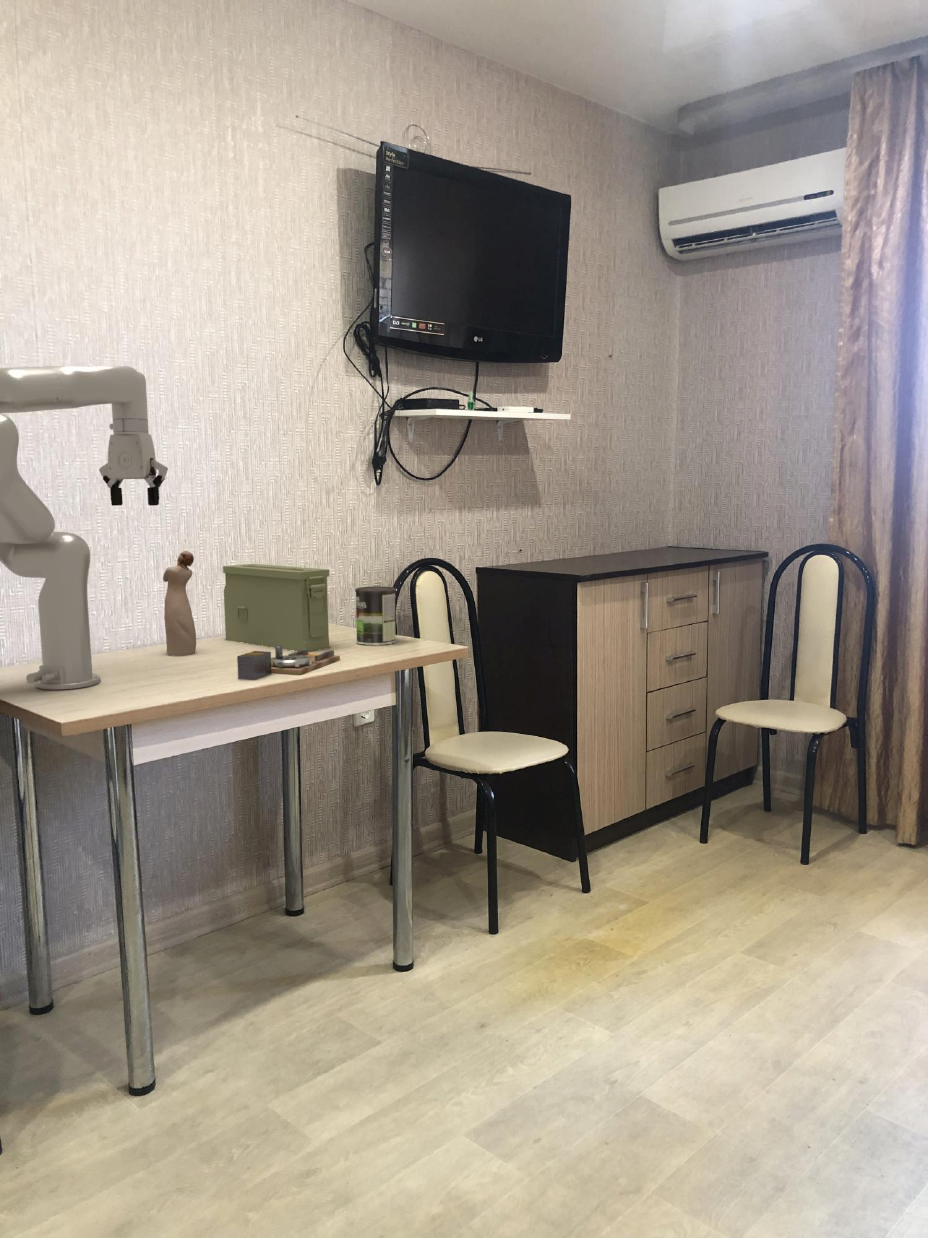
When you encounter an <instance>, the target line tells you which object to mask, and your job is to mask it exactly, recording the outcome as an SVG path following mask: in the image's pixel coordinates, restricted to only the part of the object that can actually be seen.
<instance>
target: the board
mask: <svg viewBox="0 0 928 1238" xmlns="http://www.w3.org/2000/svg"><path fill="white" fill-rule="evenodd" d="M287 655H288V656H299V655H304V656H307V657H313V662H312V664H311V665H303V666H300V667H278V666H274V665H272V666H271V671H272V674H278V675H291V676H292V675H293V676H294V675H295V676H301V675H304V674H308V673H309V671H310V672H312V671H315V670H317V669H319V668H322V667H325V666H328V665H330V664H332V663H335V662H338V661H340V660H341V655H336V654H335V649H334V650H333V649H330V650H327V651H324V652H322V653H319V654H317V653H309V652H308V649H303V650H300V651H297V652H296V651H293V652H291V653H288V654H287ZM337 660H338V661H337Z"/></svg>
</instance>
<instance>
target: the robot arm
mask: <svg viewBox="0 0 928 1238" xmlns="http://www.w3.org/2000/svg"><path fill="white" fill-rule="evenodd" d="M146 380H147V379H146V376H145V375H144V374H143V373H142V372H140V371H137V369H136V368H134V367H131V366H128V365H116V366H115V365H114V366H70V365H68V366H67V365H57V366H56V365H52V366H51V365H50V366H23V367H22V366H18V367H17V366H16V367H14V366H13V367H0V563H2V564H3V565H4V567H5V568H7V569H8V570H9V571H10V572H11V573H13V574H15V575H16V576H19V577H23V578H29V579H32V578H34V579H37V578H38V579H44V582H43V584H42V587H41V589H40V592H39V594H38V600H37V603H38V604H37V605H38V606H37V608H38V618H39V619H38V620H39V621H38V622H39V630H40V632H39V633H40V635H39V636H40V646H41V649H40V650H41V662H42V665H39V667H38V668H39V669H38V671H36V672H32V673H28V674H27V675H26V678H25V679H26V682H27V683H29V684H33V683H35V687H36V688H38V689H42V690H52V691H53V690H54V691H55V690H56V691H57V690H73V689H81V688H86V687H91V686H94V685H98V684H99V683H100V682H101V675H99V674H97V673H93V662H92V645H91V644H92V643H91V631H90V630H91V629H90V616H89V615H90V614H89V612H90V611H89V602H88V601H89V599H88V583H89V582H88V579H89V572H90V565H91V551H90V550H91V549H90V547H89V544H88V543H87V542H86V540H85V539H84V538H82V537H81V536H79V535H78V534H75V533H73V532H68V531H67V532H66V531H55V529H56V523H55V518H54V516H53V514H52V512H51V511H50V510H49V508H48V507H47V506H46V505H45V503H44V502H43V501H42V500H41V498H40V497H38V495H37V494H36V493H35V492H34V491H33V490H32V488H31V487H30V486H29V485H28V483H26V481H25V480H24V479H23V477H22V476H21V474H20V472H19V469H18V451H19V445H20V444H19V443H20V442H19V441H20V434H19V430H18V427H17V425H16V423H15V422H14V420H12V419H11V418H10V417H9V416H8V415H6V414H18V413H29V412H30V413H31V412H32V413H33V412H42V411H43V412H44V411H56V410H67V409H68V410H69V409H78V408H79V409H80V408H83V407H90V406H98V405H109V404H111V412H112V413H111V416H112V423H110V424H109V426H108V427H109V429H110V430H113V433H112V434H110V435H109V440H108V445H107V447H108V448H107V463H105V464H104V465H102V466H101V467H100V468H99V470H98V471H99V473H100V475H101V477H102V481H104V483H105V484H106V486H107V488H109V492H110V504H111V506H113V507H114V506H122V505H123V489H122V487H120V486H121V484H122V483H123V481H124V480H144V481H145V482H146V484H147V485H148V486H149V487H147V490H146V491H147V505H148V506H151V507H152V506H159V505H160V488H161V487H162V484H163V482H164V481H165V480H166V475H167V474H168V470H169V468H168V467H167V466H165V465H163V464H162V463H160V462H159V461H157V458H156V452H155V451H156V450H155V445H154V441H153V437H152V435H151V434H150V433H149V429H150V428H149V416H148V415H149V412H148V395H147V381H146ZM157 471H158V472H157ZM157 473H158V474H157Z"/></svg>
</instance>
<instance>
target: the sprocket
mask: <svg viewBox="0 0 928 1238" xmlns="http://www.w3.org/2000/svg"><path fill="white" fill-rule="evenodd" d="M283 650H284V649H282V646H275V648H274V651H275V652H274V653H275V655H274V657H273V656H272V657H271V666H272V665H274V666H278V667H300V666H303V665H311V664H312V662H313V657H307V656H304V655H299V656H288V654H287V655H283V654H284V653H283Z"/></svg>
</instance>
